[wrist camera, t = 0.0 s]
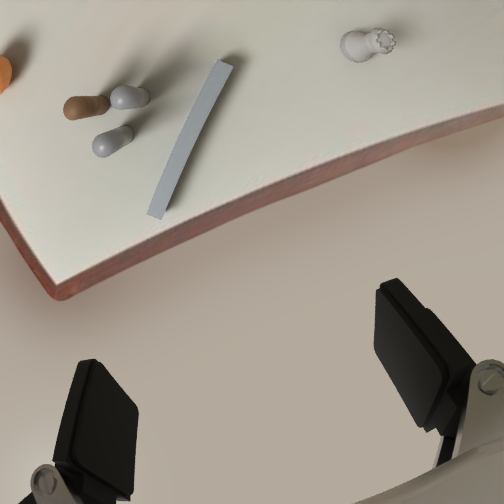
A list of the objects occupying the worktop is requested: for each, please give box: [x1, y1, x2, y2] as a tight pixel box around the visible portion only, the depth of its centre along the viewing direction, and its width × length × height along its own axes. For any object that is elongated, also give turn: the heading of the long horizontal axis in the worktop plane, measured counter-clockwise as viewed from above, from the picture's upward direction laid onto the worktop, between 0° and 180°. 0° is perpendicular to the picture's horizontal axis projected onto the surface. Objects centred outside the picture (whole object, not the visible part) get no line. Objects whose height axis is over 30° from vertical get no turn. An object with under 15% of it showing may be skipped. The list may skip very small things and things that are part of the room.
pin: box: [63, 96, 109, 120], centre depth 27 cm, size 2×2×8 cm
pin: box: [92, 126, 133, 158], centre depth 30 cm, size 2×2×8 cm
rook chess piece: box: [340, 28, 396, 63], centre depth 28 cm, size 4×4×8 cm
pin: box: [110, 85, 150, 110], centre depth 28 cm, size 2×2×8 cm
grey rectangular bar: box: [147, 60, 233, 220], centre depth 34 cm, size 20×2×2 cm, turn 153°
